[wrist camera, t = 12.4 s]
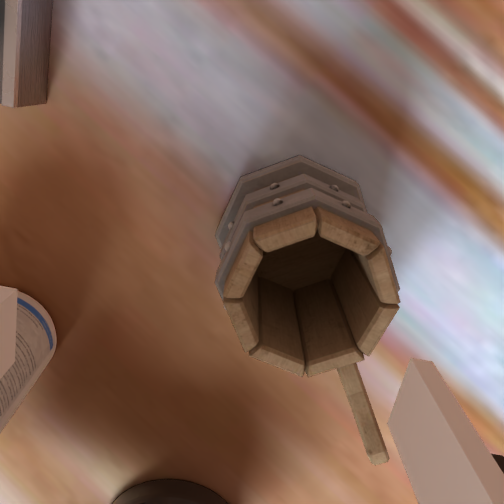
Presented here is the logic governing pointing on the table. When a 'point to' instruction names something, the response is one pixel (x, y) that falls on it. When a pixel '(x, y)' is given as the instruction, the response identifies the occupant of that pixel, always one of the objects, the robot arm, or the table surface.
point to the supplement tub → (26, 354)
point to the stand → (24, 51)
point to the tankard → (308, 277)
